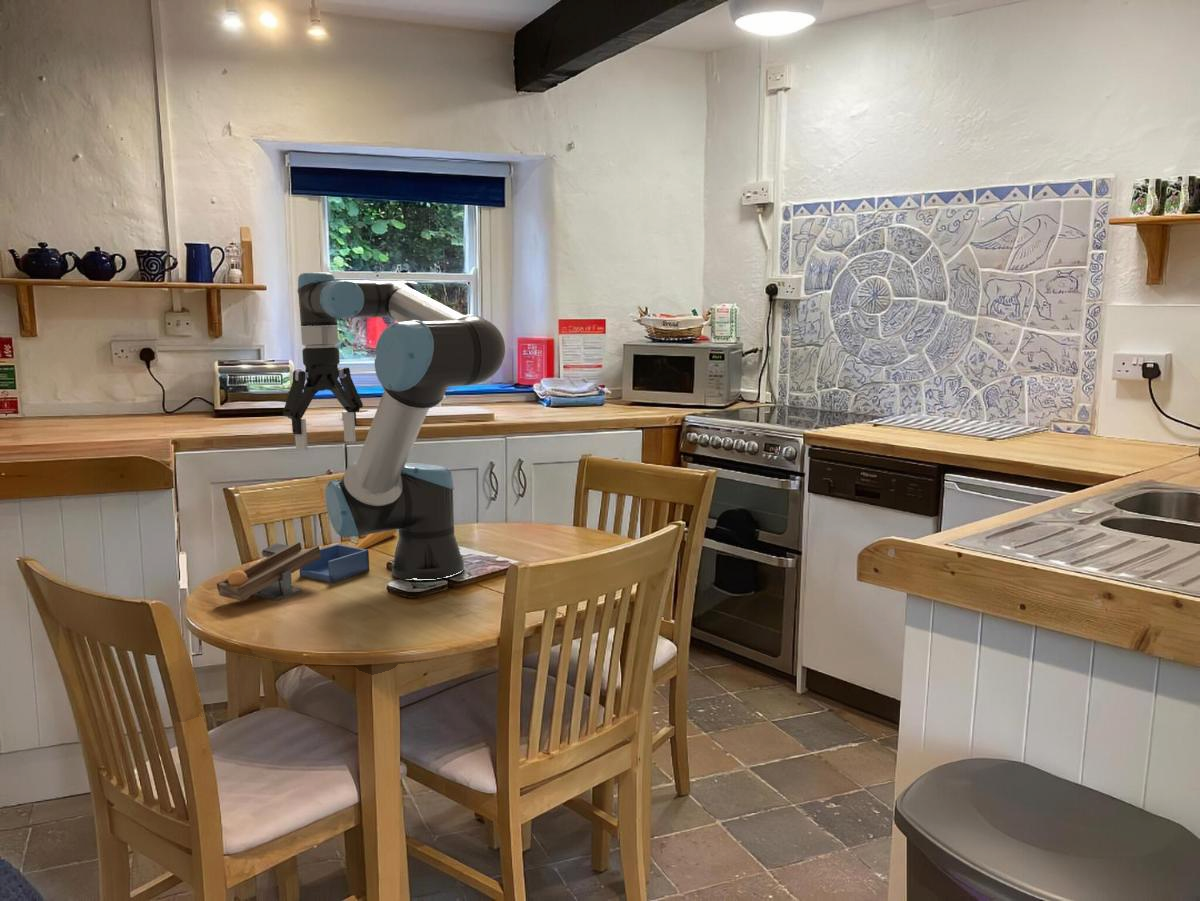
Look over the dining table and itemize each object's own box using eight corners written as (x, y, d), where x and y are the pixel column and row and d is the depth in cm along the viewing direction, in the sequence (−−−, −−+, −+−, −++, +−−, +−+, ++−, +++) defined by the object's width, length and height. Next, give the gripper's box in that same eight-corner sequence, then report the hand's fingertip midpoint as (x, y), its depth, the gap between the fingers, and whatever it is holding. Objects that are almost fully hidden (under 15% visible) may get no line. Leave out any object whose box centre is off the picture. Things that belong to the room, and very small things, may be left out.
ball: (253, 583, 182) (248, 568, 181) (239, 593, 179) (233, 577, 178) (242, 581, 184) (236, 565, 183) (227, 590, 181) (221, 574, 180)
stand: (301, 592, 188) (299, 569, 187) (276, 600, 183) (274, 576, 182) (269, 585, 193) (268, 562, 192) (244, 592, 188) (242, 569, 187)
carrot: (387, 537, 235) (379, 521, 234) (402, 531, 233) (394, 515, 233) (345, 566, 217) (336, 549, 216) (360, 561, 215) (351, 543, 214)
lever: (321, 557, 194) (318, 545, 193) (240, 600, 178) (237, 588, 177) (277, 548, 201) (275, 537, 200) (196, 589, 185) (193, 578, 185)
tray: (369, 570, 203) (368, 549, 203) (331, 582, 194) (330, 561, 194) (338, 563, 208) (337, 544, 208) (299, 575, 200) (298, 555, 199)
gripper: (351, 344, 214) (356, 437, 217) (260, 349, 193) (267, 452, 196) (375, 344, 210) (380, 439, 213) (285, 349, 189) (292, 454, 192)
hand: (326, 445), depth 204 cm, fingers open, 13 cm apart
